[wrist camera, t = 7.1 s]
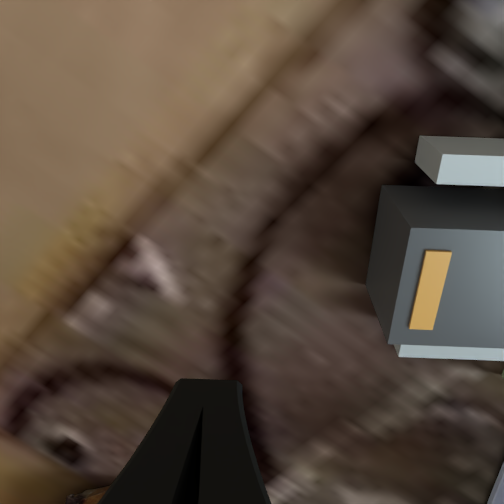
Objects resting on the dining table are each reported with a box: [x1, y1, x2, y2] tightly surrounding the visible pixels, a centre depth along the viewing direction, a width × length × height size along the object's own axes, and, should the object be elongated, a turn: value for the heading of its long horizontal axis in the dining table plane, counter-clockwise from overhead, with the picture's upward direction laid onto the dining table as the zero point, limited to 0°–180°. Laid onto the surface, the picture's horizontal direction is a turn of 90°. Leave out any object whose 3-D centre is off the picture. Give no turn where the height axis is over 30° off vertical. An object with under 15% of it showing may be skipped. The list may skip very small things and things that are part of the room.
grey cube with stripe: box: [366, 185, 504, 349], centre depth 17 cm, size 4×7×4 cm, turn 88°
